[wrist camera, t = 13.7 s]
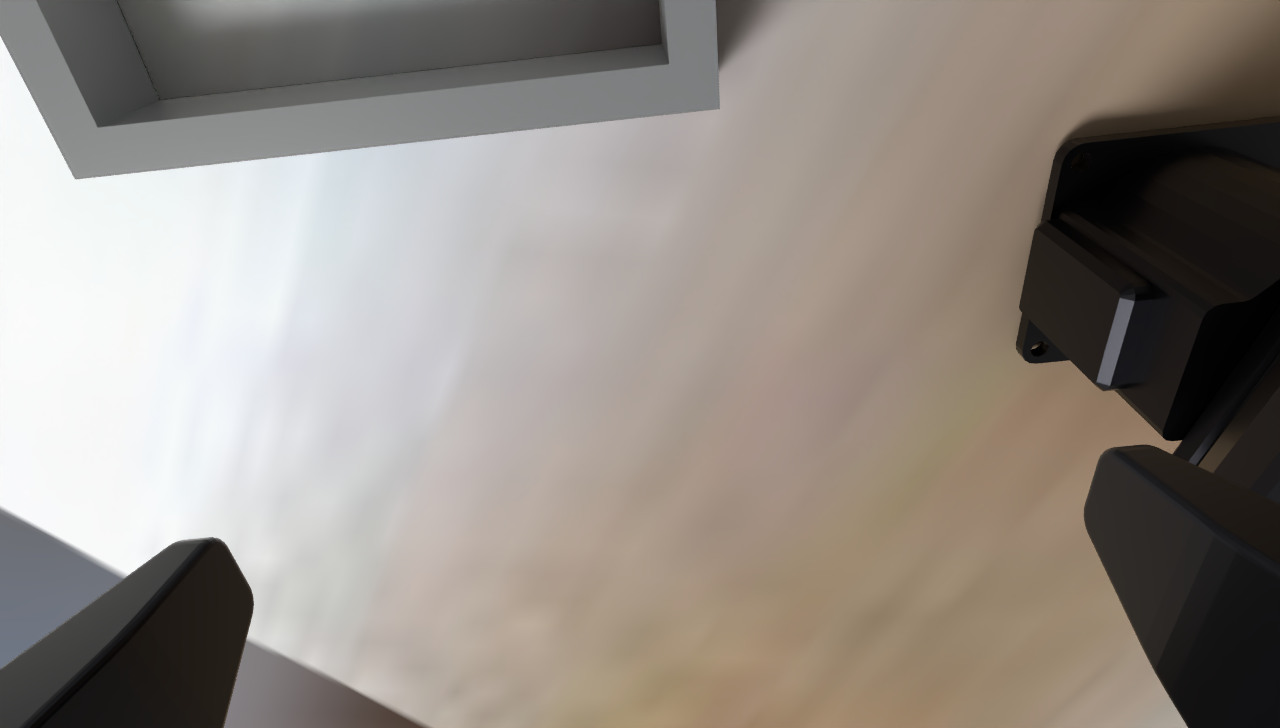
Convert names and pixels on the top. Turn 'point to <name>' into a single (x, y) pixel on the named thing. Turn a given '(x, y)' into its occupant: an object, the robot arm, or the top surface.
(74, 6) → the gray square frame
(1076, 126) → the top surface
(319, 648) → the top surface
